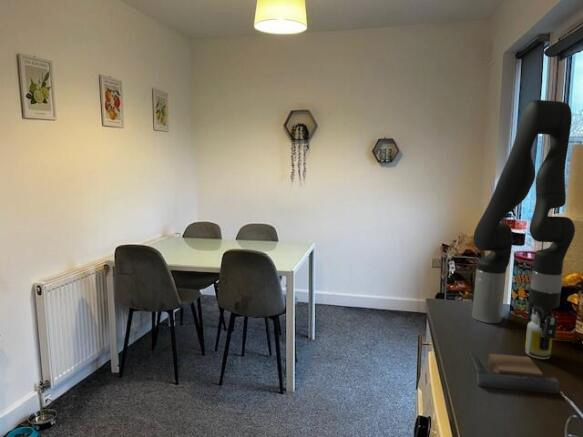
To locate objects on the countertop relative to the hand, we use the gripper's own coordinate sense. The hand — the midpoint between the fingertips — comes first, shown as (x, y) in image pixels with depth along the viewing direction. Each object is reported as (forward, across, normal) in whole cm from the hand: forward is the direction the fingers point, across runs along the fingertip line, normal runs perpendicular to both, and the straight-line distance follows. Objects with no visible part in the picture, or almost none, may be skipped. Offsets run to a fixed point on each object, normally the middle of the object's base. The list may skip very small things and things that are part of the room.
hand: (538, 343), depth 125 cm
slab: (+4, +14, -11) cm, 18 cm away
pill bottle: (+3, 0, 0) cm, 3 cm away
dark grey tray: (+3, +12, -12) cm, 17 cm away
